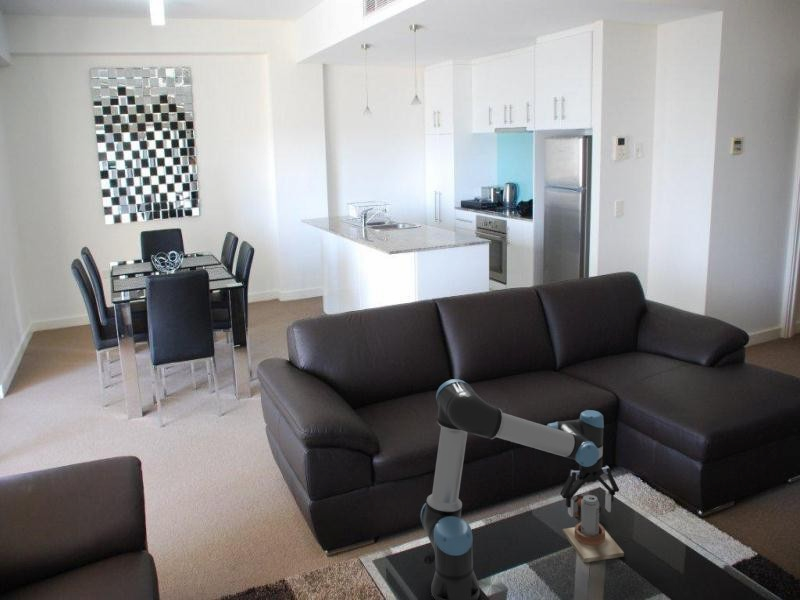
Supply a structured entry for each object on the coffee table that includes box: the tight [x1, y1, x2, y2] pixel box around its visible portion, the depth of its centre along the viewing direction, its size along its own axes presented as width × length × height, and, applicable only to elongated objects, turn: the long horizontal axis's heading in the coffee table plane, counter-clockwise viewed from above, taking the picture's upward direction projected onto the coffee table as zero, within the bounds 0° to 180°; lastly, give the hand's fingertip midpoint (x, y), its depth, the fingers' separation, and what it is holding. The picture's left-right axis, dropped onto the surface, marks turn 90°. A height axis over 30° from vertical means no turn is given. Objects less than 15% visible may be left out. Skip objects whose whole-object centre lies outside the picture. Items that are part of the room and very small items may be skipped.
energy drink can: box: [580, 494, 600, 536], centre depth 237 cm, size 6×6×15 cm
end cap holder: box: [562, 521, 625, 563], centre depth 236 cm, size 14×18×4 cm
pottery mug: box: [573, 494, 602, 519], centre depth 255 cm, size 12×10×8 cm
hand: (589, 512), depth 236 cm, fingers open, 13 cm apart
